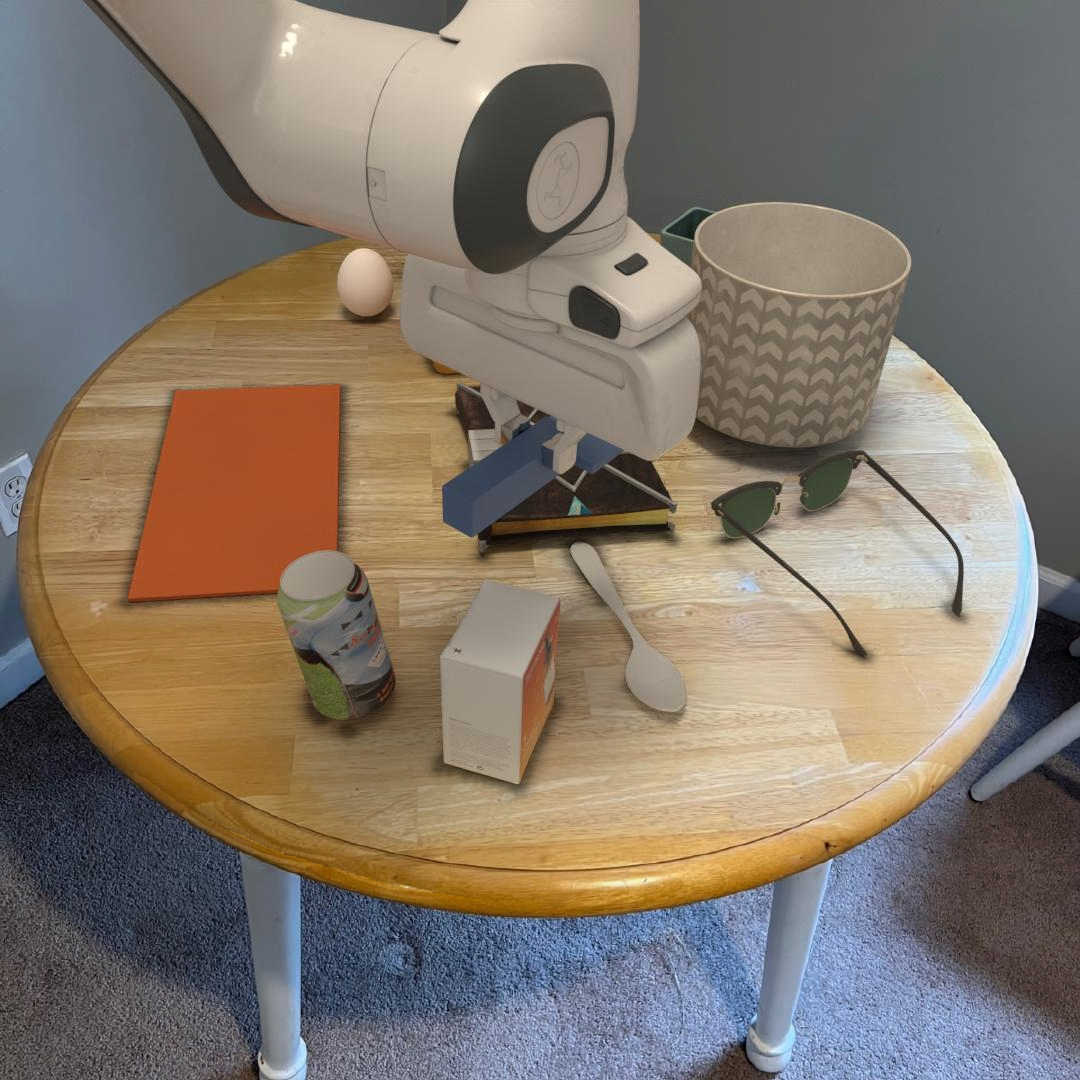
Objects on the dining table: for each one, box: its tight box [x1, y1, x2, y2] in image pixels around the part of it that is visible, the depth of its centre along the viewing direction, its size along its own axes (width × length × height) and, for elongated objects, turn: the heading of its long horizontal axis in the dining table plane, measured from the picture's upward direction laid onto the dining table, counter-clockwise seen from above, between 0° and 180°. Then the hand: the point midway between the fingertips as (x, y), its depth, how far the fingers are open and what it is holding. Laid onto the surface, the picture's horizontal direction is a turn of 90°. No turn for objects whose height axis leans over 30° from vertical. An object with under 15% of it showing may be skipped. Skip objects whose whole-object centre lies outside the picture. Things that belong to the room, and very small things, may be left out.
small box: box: [439, 578, 562, 785], centre depth 73 cm, size 8×6×10 cm
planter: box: [686, 201, 912, 448], centre depth 102 cm, size 19×19×18 cm
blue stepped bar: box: [441, 416, 624, 539], centre depth 70 cm, size 17×6×3 cm, turn 141°
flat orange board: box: [127, 383, 341, 603], centre depth 97 cm, size 30×16×1 cm, turn 7°
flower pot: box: [660, 206, 717, 267], centre depth 124 cm, size 9×9×9 cm
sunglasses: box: [710, 449, 965, 657], centre depth 89 cm, size 16×17×5 cm
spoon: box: [570, 541, 688, 713], centre depth 84 cm, size 4×21×2 cm, turn 18°
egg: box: [336, 247, 395, 317], centre depth 119 cm, size 6×6×8 cm
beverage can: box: [276, 550, 396, 721], centre depth 75 cm, size 6×7×12 cm
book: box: [454, 381, 678, 553], centre depth 98 cm, size 22×17×5 cm
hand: (535, 454), depth 70 cm, fingers closed on blue stepped bar, 2 cm apart
